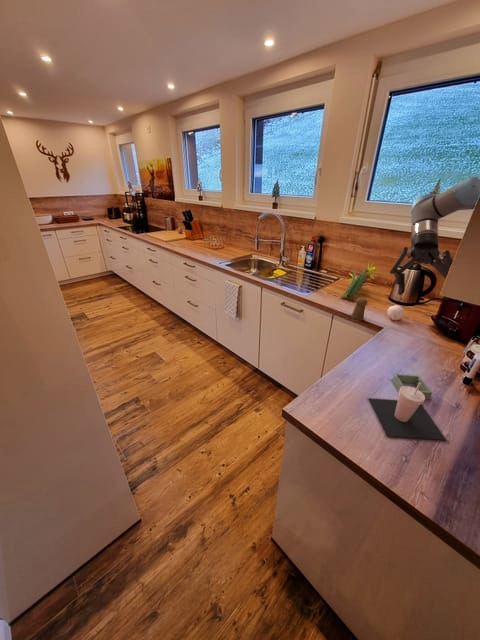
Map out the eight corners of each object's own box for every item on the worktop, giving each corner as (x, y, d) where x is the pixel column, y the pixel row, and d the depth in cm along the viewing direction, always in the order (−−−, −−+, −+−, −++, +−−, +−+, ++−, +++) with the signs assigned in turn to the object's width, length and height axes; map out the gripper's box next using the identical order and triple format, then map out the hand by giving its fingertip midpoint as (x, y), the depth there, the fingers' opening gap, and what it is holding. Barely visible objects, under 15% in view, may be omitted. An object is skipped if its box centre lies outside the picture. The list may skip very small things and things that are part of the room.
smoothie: (406, 429, 75) (424, 393, 69) (385, 413, 80) (400, 378, 73) (417, 420, 78) (436, 384, 72) (396, 405, 83) (412, 371, 76)
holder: (415, 382, 94) (418, 375, 92) (429, 399, 87) (432, 392, 85) (391, 380, 94) (394, 373, 93) (403, 397, 87) (406, 391, 85)
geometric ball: (396, 325, 136) (409, 318, 129) (383, 318, 136) (395, 312, 129) (396, 313, 140) (408, 306, 133) (383, 307, 139) (395, 299, 132)
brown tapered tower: (348, 317, 136) (354, 298, 131) (354, 314, 140) (359, 295, 134) (360, 321, 132) (365, 302, 127) (365, 318, 136) (371, 298, 130)
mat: (418, 402, 85) (419, 401, 85) (445, 440, 73) (446, 439, 73) (368, 399, 86) (369, 398, 86) (387, 436, 74) (387, 435, 73)
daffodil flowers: (328, 295, 162) (350, 269, 181) (347, 311, 161) (367, 283, 179) (346, 280, 148) (367, 252, 167) (366, 297, 146) (386, 267, 165)
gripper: (458, 247, 90) (461, 304, 84) (380, 241, 95) (378, 295, 89) (474, 234, 83) (477, 296, 77) (389, 228, 87) (386, 286, 82)
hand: (424, 295), depth 83 cm, fingers open, 13 cm apart
